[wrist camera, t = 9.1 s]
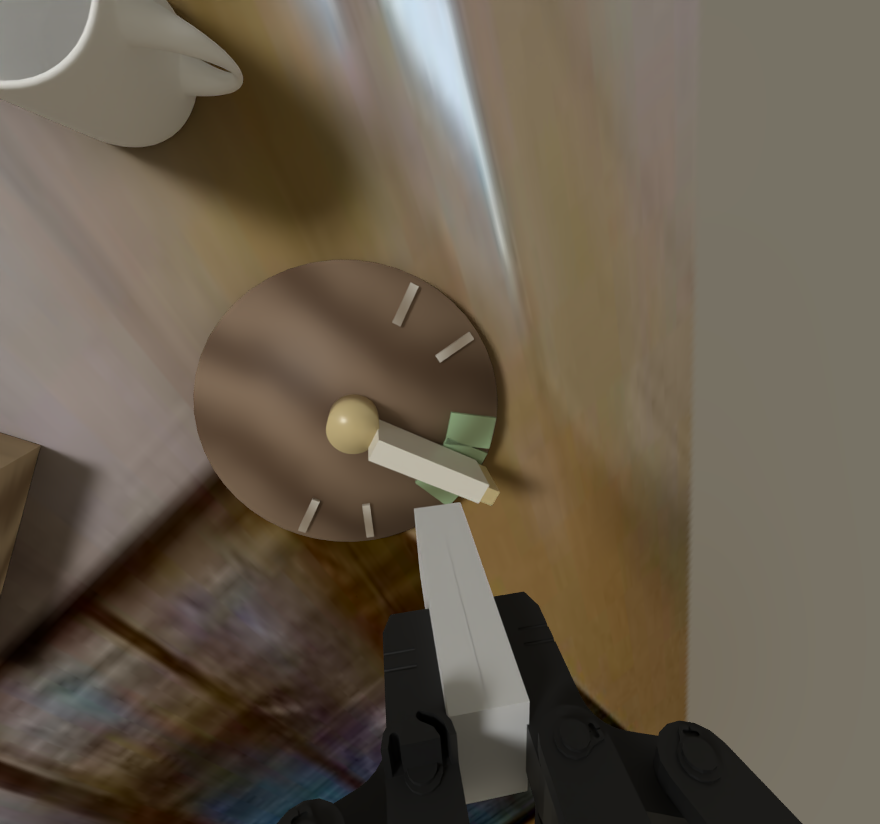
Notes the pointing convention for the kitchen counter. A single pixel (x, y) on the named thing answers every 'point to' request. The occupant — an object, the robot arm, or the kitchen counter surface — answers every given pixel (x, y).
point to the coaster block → (13, 491)
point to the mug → (109, 66)
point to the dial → (339, 394)
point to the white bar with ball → (406, 451)
